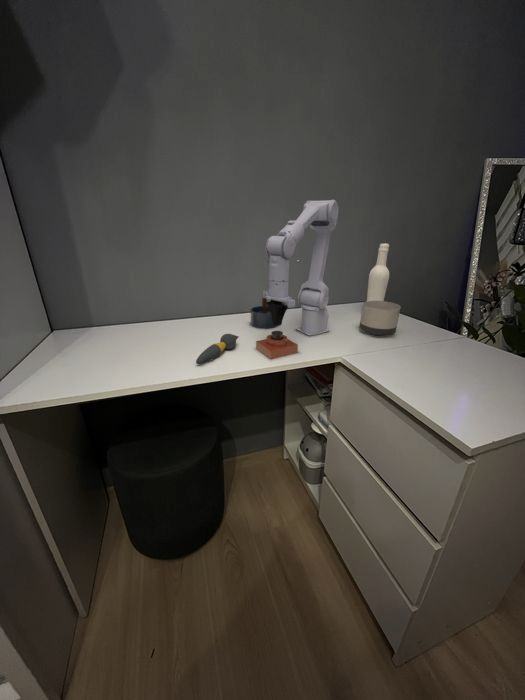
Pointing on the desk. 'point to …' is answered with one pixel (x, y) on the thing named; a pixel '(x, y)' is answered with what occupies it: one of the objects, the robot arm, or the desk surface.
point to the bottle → (379, 276)
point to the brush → (264, 306)
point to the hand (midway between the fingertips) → (277, 324)
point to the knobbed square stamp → (276, 347)
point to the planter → (379, 318)
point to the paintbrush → (217, 348)
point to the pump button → (276, 335)
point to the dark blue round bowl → (261, 318)
